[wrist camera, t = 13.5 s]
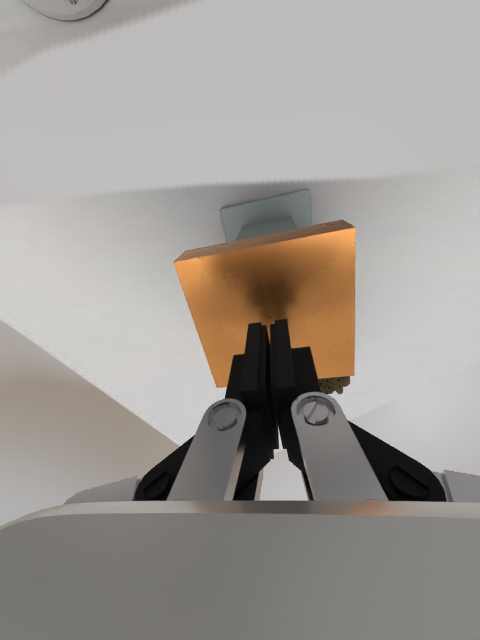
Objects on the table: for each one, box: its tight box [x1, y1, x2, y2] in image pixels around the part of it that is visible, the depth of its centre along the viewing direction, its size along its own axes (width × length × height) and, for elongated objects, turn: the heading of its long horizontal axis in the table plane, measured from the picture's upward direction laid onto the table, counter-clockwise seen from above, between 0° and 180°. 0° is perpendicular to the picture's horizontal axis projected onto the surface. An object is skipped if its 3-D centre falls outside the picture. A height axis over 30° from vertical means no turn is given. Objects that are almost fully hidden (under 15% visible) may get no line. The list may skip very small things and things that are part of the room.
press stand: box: [220, 189, 312, 243], centre depth 23 cm, size 9×9×12 cm
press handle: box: [174, 220, 355, 388], centre depth 18 cm, size 8×8×12 cm
